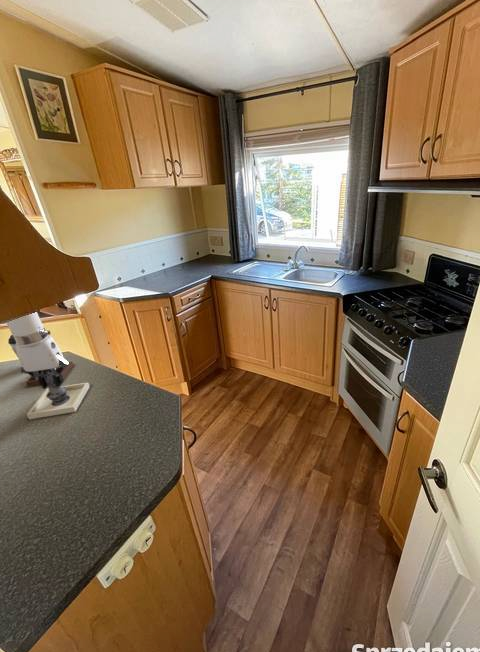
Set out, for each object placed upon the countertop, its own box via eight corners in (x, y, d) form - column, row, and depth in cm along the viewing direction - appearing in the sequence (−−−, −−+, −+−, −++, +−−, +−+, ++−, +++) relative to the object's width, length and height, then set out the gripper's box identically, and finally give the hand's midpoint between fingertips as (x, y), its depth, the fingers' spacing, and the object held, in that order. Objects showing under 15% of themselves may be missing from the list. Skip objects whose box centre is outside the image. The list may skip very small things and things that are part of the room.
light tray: (29, 419, 92) (26, 414, 91) (49, 392, 104) (46, 388, 103) (75, 411, 94) (73, 406, 93) (89, 386, 106) (88, 382, 105)
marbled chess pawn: (74, 397, 100) (62, 368, 95) (57, 408, 95) (43, 378, 90) (64, 393, 102) (51, 364, 97) (46, 403, 98) (32, 374, 92)
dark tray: (27, 386, 108) (25, 382, 107) (42, 369, 118) (40, 365, 117) (61, 381, 110) (59, 377, 109) (73, 365, 120) (72, 361, 119)
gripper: (66, 327, 93) (84, 375, 101) (7, 334, 90) (31, 382, 98) (55, 338, 86) (76, 388, 94) (-8, 346, 83) (19, 396, 91)
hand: (53, 384), depth 96 cm, fingers closed on marbled chess pawn, 3 cm apart
